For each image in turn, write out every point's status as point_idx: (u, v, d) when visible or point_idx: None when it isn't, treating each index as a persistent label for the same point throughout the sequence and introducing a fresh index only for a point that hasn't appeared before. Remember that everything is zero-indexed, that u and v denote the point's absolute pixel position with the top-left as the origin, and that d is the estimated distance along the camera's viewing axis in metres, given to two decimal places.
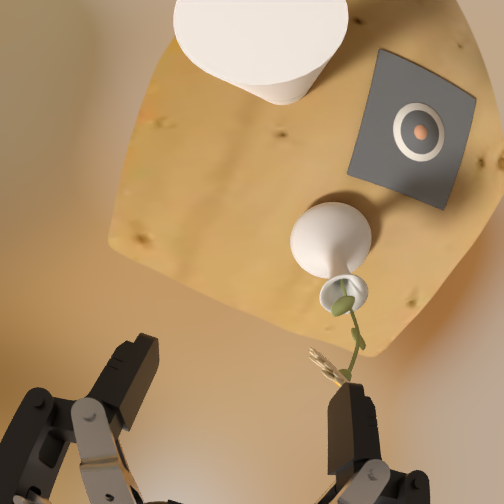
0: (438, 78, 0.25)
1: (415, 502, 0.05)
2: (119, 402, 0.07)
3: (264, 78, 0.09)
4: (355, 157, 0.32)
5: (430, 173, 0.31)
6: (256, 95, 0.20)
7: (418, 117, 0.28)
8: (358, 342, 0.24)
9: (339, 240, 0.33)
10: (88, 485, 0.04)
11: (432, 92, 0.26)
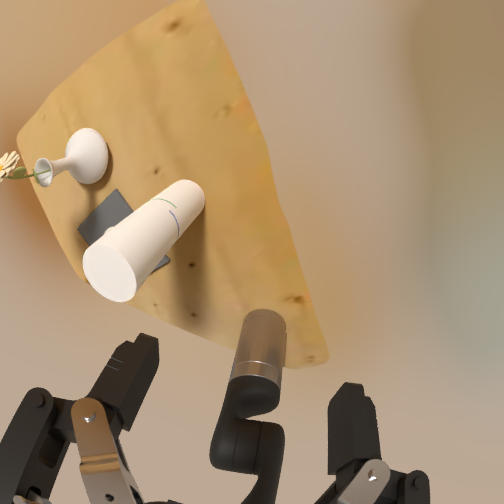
0: None
1: (415, 502, 0.05)
2: (119, 402, 0.07)
3: (85, 255, 0.26)
4: (121, 200, 0.50)
5: (97, 233, 0.54)
6: (141, 206, 0.35)
7: None
8: (16, 178, 0.31)
9: (79, 168, 0.42)
10: (88, 485, 0.04)
11: None
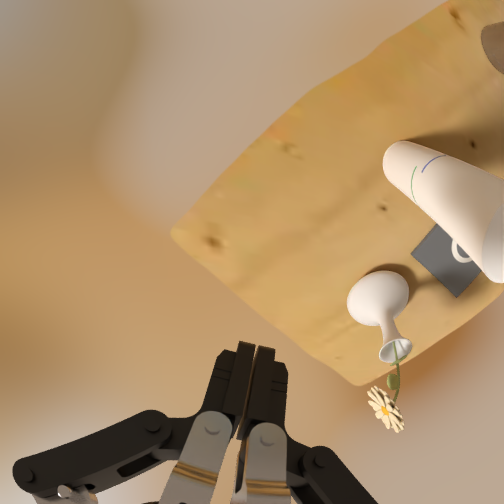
0: None
1: (332, 480, 0.06)
2: (240, 411, 0.08)
3: (494, 278, 0.14)
4: (422, 245, 0.39)
5: (461, 271, 0.40)
6: (425, 211, 0.24)
7: None
8: (399, 385, 0.31)
9: (392, 304, 0.40)
10: (170, 487, 0.05)
11: None
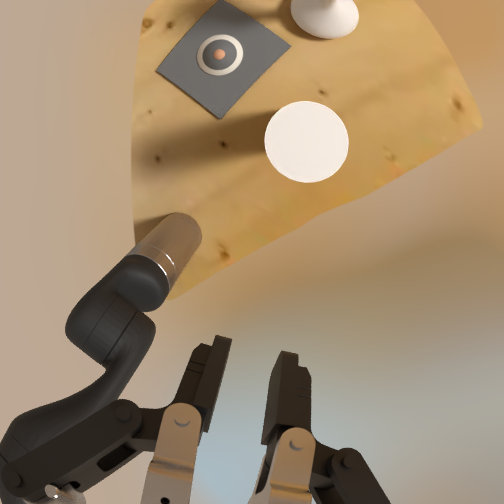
0: (184, 88, 0.42)
1: (356, 481, 0.06)
2: (211, 404, 0.08)
3: (325, 109, 0.20)
4: (279, 54, 0.37)
5: (223, 25, 0.36)
6: None
7: (216, 64, 0.39)
8: None
9: (319, 10, 0.29)
10: (149, 483, 0.05)
11: (195, 79, 0.41)
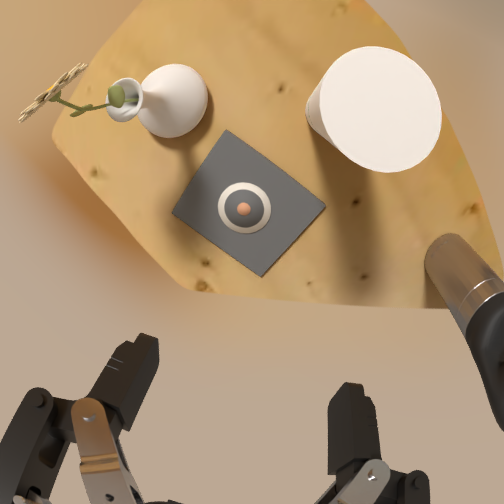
0: (286, 246, 0.44)
1: (415, 502, 0.05)
2: (119, 402, 0.07)
3: (328, 80, 0.12)
4: (238, 141, 0.37)
5: (206, 206, 0.43)
6: None
7: (256, 211, 0.42)
8: (80, 108, 0.21)
9: (170, 106, 0.31)
10: (88, 485, 0.04)
11: (275, 234, 0.43)
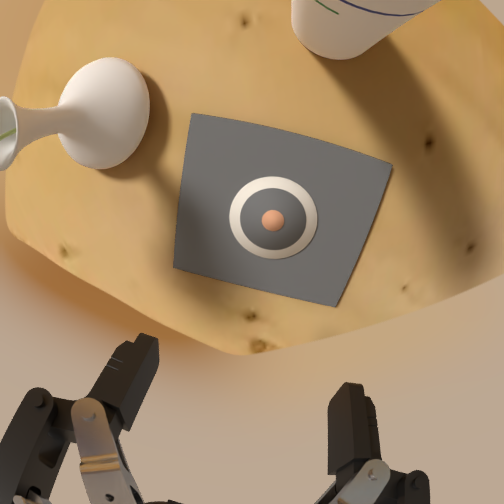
0: (357, 251, 0.26)
1: (415, 502, 0.05)
2: (119, 402, 0.07)
3: None
4: (219, 120, 0.22)
5: (216, 240, 0.27)
6: None
7: (294, 216, 0.25)
8: None
9: (91, 115, 0.18)
10: (88, 485, 0.04)
11: (335, 239, 0.26)
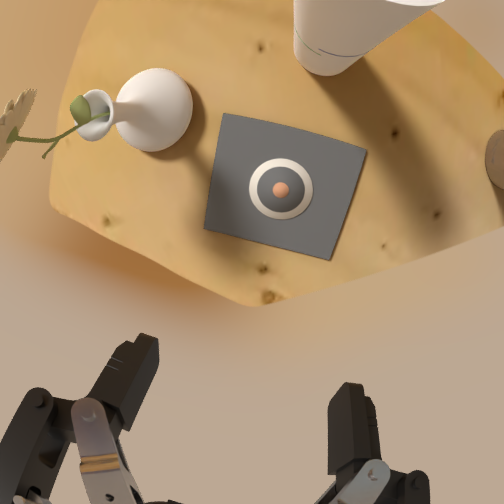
0: (343, 213, 0.35)
1: (415, 502, 0.05)
2: (119, 402, 0.07)
3: None
4: (243, 119, 0.31)
5: (238, 205, 0.37)
6: None
7: (295, 186, 0.34)
8: (46, 140, 0.17)
9: (151, 110, 0.27)
10: (88, 485, 0.04)
11: (326, 204, 0.35)
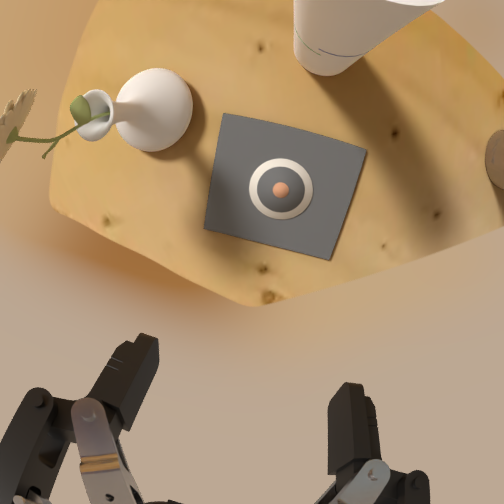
0: (343, 213, 0.35)
1: (415, 502, 0.05)
2: (119, 402, 0.07)
3: None
4: (243, 119, 0.31)
5: (238, 205, 0.37)
6: None
7: (295, 186, 0.34)
8: (46, 140, 0.17)
9: (151, 110, 0.27)
10: (88, 485, 0.04)
11: (326, 204, 0.35)
